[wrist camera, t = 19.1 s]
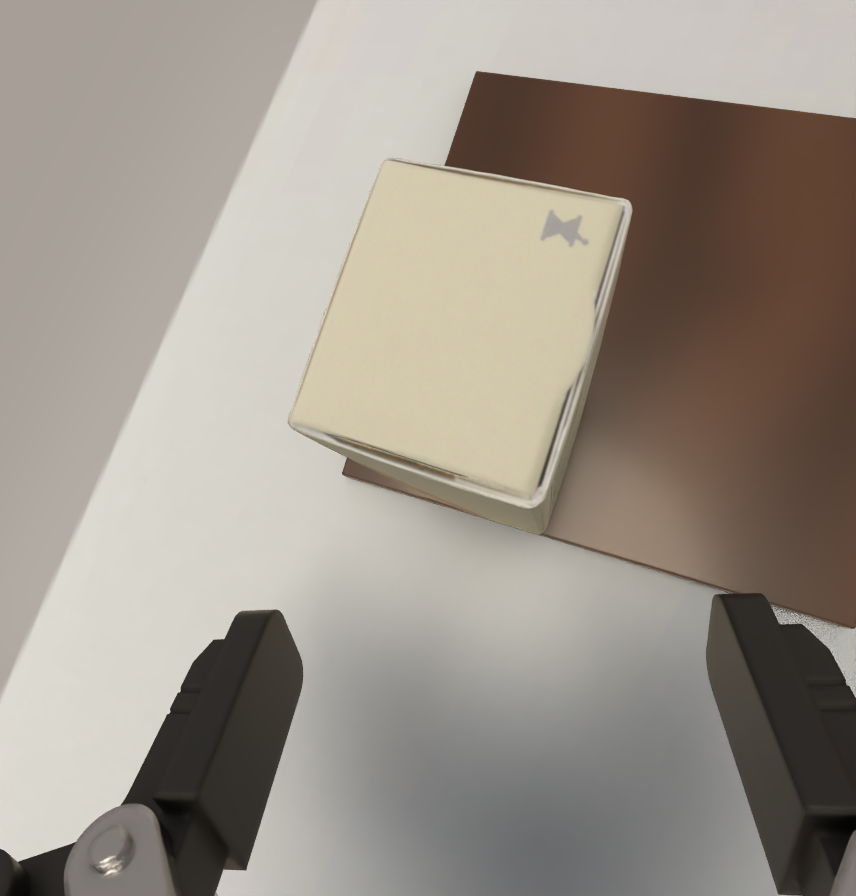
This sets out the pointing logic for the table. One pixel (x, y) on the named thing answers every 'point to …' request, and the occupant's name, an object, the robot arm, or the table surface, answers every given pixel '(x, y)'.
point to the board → (703, 333)
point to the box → (465, 336)
